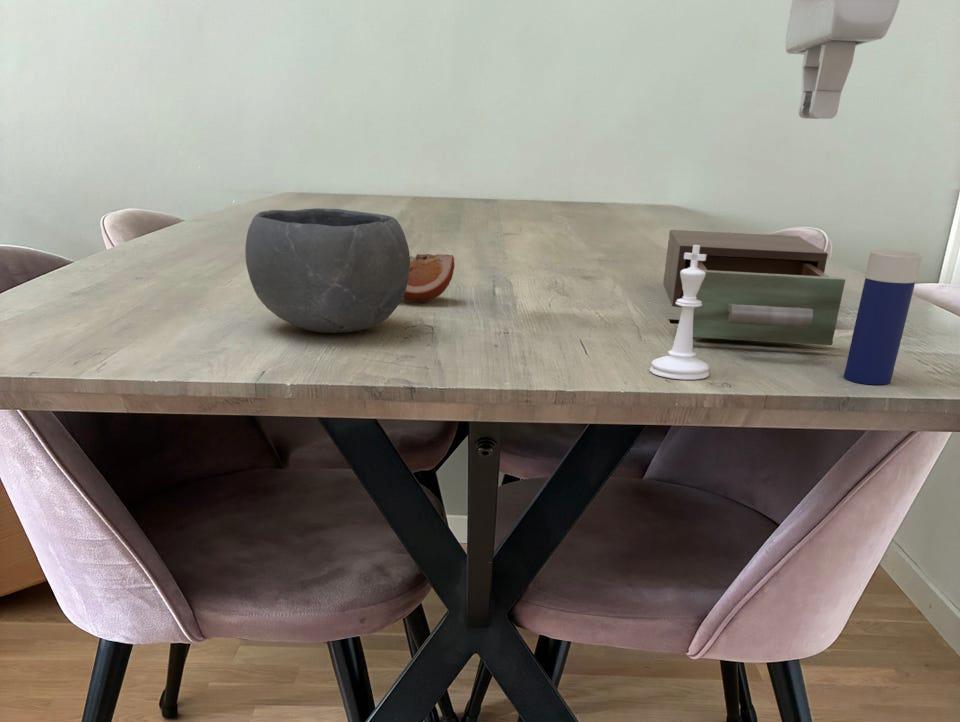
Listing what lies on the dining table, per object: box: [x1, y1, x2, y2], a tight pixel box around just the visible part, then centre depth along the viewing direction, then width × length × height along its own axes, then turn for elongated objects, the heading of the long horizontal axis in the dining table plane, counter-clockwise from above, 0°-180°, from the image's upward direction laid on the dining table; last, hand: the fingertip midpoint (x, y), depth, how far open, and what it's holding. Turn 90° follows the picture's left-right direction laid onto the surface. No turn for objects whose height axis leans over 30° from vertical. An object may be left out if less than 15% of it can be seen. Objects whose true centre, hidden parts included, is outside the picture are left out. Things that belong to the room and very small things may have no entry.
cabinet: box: [662, 229, 829, 325], centre depth 104 cm, size 16×15×8 cm
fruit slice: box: [402, 253, 455, 303], centre depth 105 cm, size 8×7×5 cm
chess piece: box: [649, 245, 710, 381], centre depth 78 cm, size 5×5×10 cm
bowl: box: [244, 207, 411, 334], centre depth 88 cm, size 15×15×10 cm
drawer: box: [682, 255, 846, 346], centre depth 92 cm, size 19×13×6 cm
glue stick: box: [843, 249, 923, 386], centre depth 78 cm, size 4×4×10 cm
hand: (816, 118), depth 73 cm, fingers open, 3 cm apart
